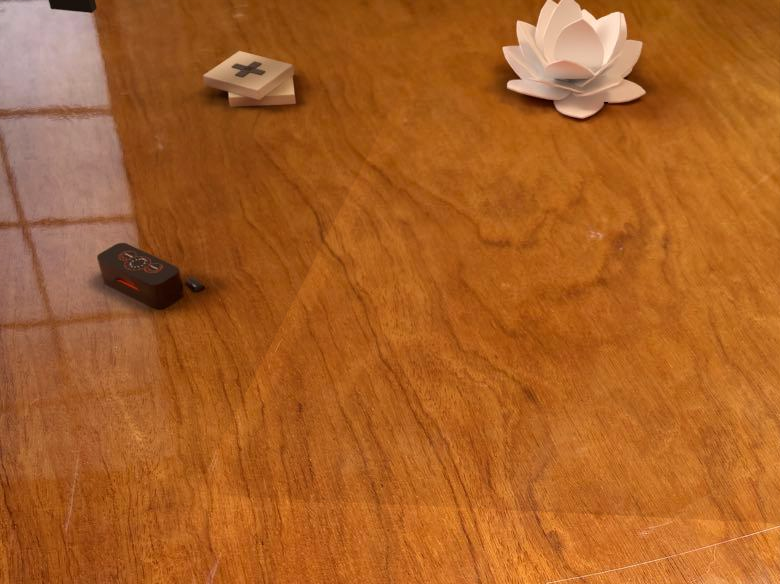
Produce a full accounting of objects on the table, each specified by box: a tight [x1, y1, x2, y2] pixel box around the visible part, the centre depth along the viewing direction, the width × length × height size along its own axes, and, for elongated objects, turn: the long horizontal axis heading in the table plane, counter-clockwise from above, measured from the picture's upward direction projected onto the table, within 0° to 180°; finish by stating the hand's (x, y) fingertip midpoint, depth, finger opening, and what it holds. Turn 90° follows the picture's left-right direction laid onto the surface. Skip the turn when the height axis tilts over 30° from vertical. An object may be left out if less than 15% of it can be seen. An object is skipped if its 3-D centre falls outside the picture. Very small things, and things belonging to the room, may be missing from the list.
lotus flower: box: [502, 0, 647, 119], centre depth 113 cm, size 14×15×9 cm
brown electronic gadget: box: [96, 242, 210, 311], centre depth 88 cm, size 5×7×3 cm, turn 57°
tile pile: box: [202, 50, 297, 108], centre depth 110 cm, size 8×8×3 cm
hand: (25, 55), depth 69 cm, fingers open, 13 cm apart
